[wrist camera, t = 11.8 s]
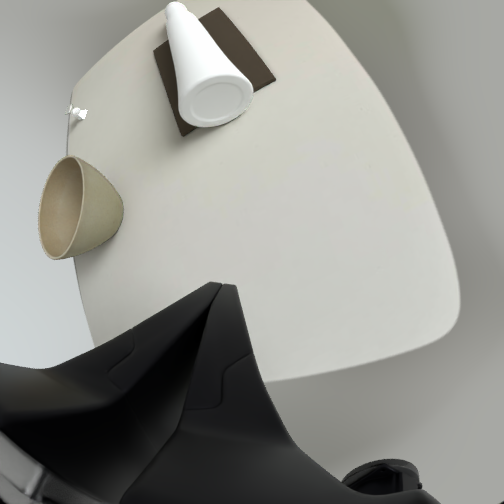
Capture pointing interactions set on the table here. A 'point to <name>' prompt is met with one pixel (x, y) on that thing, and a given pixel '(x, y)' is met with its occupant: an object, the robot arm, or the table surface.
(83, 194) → the bowl
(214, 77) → the cosmetic bottle
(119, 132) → the table surface
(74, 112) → the wrapped candy
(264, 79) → the mat
